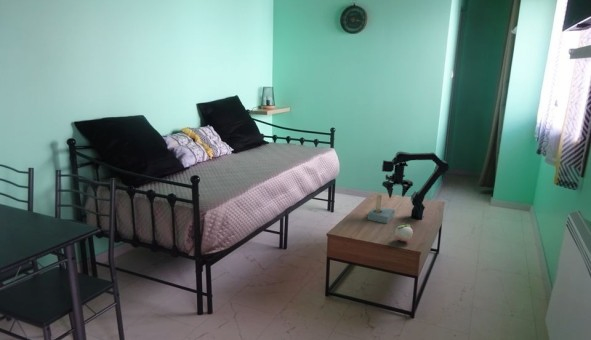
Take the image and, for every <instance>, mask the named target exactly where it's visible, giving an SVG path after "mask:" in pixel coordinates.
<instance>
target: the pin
mask: <svg viewBox="0 0 591 340" xmlns="http://www.w3.org/2000/svg"><path fill="white" fill-rule="evenodd" d="M375 207H376V208H375ZM375 207H374V208H375V212H376V213H380V209H381V207H382V195H381V194H380V195H379V194H378V195H377V194H376V199H375Z"/></svg>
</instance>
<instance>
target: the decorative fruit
mask: <svg viewBox="0 0 591 340" xmlns="http://www.w3.org/2000/svg"><path fill="white" fill-rule="evenodd" d="M411 227H412V226H411V225H410V224H403V225H399V226H396V228H395V230H394V234H395V237H396V238H397V239H398V240H399V241H400V242H406V241H408V240H410V239H411V238H412V237H413V235H414V232H413V228H411Z"/></svg>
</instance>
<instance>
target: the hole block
mask: <svg viewBox="0 0 591 340" xmlns="http://www.w3.org/2000/svg"><path fill="white" fill-rule="evenodd" d="M375 208H376V206H374V207H373V208H372V209H371V210H370V211H368V213H367V220H369V221H374V222H378V223H382V224H388V223H389V222H390V221H391V220H392V219H393V218H394V217H395V213H396V209H394V208H391V207H390V208H388V207H384V206H381V209H380V213H376V212H375Z"/></svg>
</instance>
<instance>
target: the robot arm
mask: <svg viewBox="0 0 591 340" xmlns="http://www.w3.org/2000/svg"><path fill="white" fill-rule="evenodd" d="M410 161H432V162H434V164H435V167H434V169H433V172H432V174H430V175H429V177H428V179H427V180H426V181H425V183H424V184H423V185H422V186H421V188H420V189H419V190H417V191H413V193H412V195H410V202H411V204H412V206H413V207H412V209H411V212H410V213H411V214H410V217H411V219H416V220H421V221H422V220H423V219H424V217H425V216H424V214H425V209H426V206H425V205H424V203H423V202H424V199H425V196H426V195H427V194H428V193H429V191H430V189H431V188H432V187H433V186H434V184H436V182H437V180H439V178H440V177H441V176H443V175H444V174H445V173H446V172H447V171H449V168H450V165H449V163H448V162H446V160H442V159H440V157H439V156H437V154H436V152H416V153H413V152H412V153H410V152H406V151H398V152H396V153H395V156H394V157H393V158H392V159H391V160H383V161H382V165H381V172H383V173H384V172H385V173H388V174H385V180H386V181H385V180H383V182H382V184H381V186H382V187H384V188H385V189H386V190H387V193H388V197H389V199H391V198H392V195H393V191H394V186H401V187H402V190H401V197H402V198H403V197H404V196H405V195H406V193H407V192H408V191H409V189H410V188H412V187H413V186H414V183H413V181H412V180H410V179H404V178H405V176H406V175H405V167H409V164H408V162H410ZM392 172H393V173H392ZM389 173H392V174H389Z"/></svg>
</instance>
